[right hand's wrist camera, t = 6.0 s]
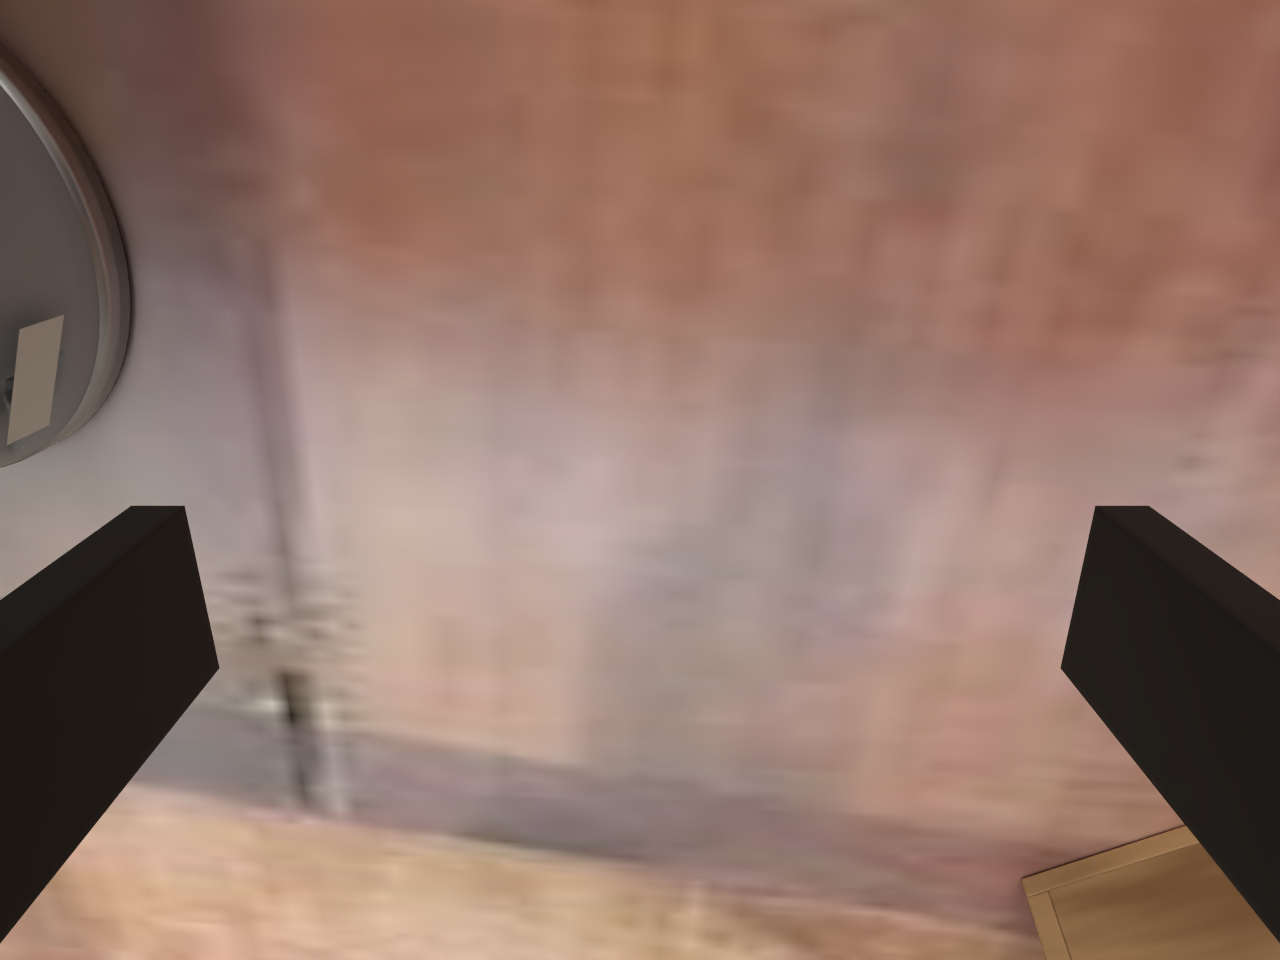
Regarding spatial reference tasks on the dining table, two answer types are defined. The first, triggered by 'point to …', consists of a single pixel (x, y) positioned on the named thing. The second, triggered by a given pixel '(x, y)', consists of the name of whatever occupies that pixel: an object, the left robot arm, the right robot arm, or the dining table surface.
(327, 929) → the dining table surface
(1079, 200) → the dining table surface
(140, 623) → the right robot arm
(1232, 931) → the chest
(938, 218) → the dining table surface
